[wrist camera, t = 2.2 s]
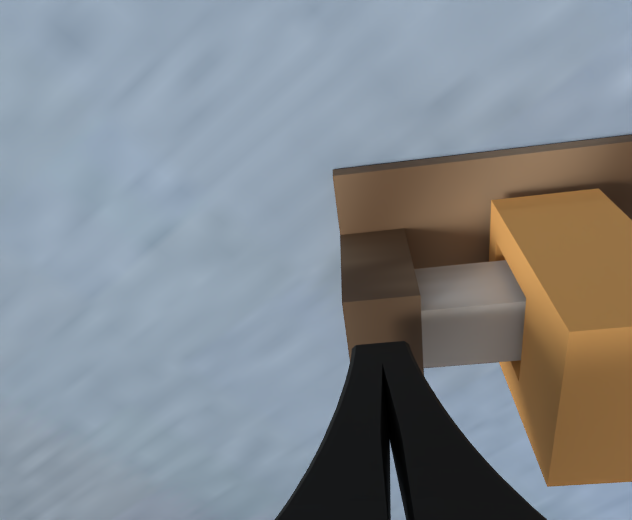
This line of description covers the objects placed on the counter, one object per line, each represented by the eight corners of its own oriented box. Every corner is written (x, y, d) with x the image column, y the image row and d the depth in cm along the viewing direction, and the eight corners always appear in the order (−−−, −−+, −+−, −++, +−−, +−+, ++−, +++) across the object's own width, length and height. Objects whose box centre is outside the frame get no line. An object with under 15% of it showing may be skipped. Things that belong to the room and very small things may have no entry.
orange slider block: (598, 188, 15) (733, 317, 10) (578, 320, 18) (678, 478, 13) (491, 200, 15) (569, 331, 10) (486, 328, 18) (547, 486, 13)
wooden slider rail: (909, 101, 15) (1093, 156, 11) (819, 305, 18) (937, 396, 15) (333, 169, 16) (332, 236, 13) (355, 345, 20) (360, 436, 16)
